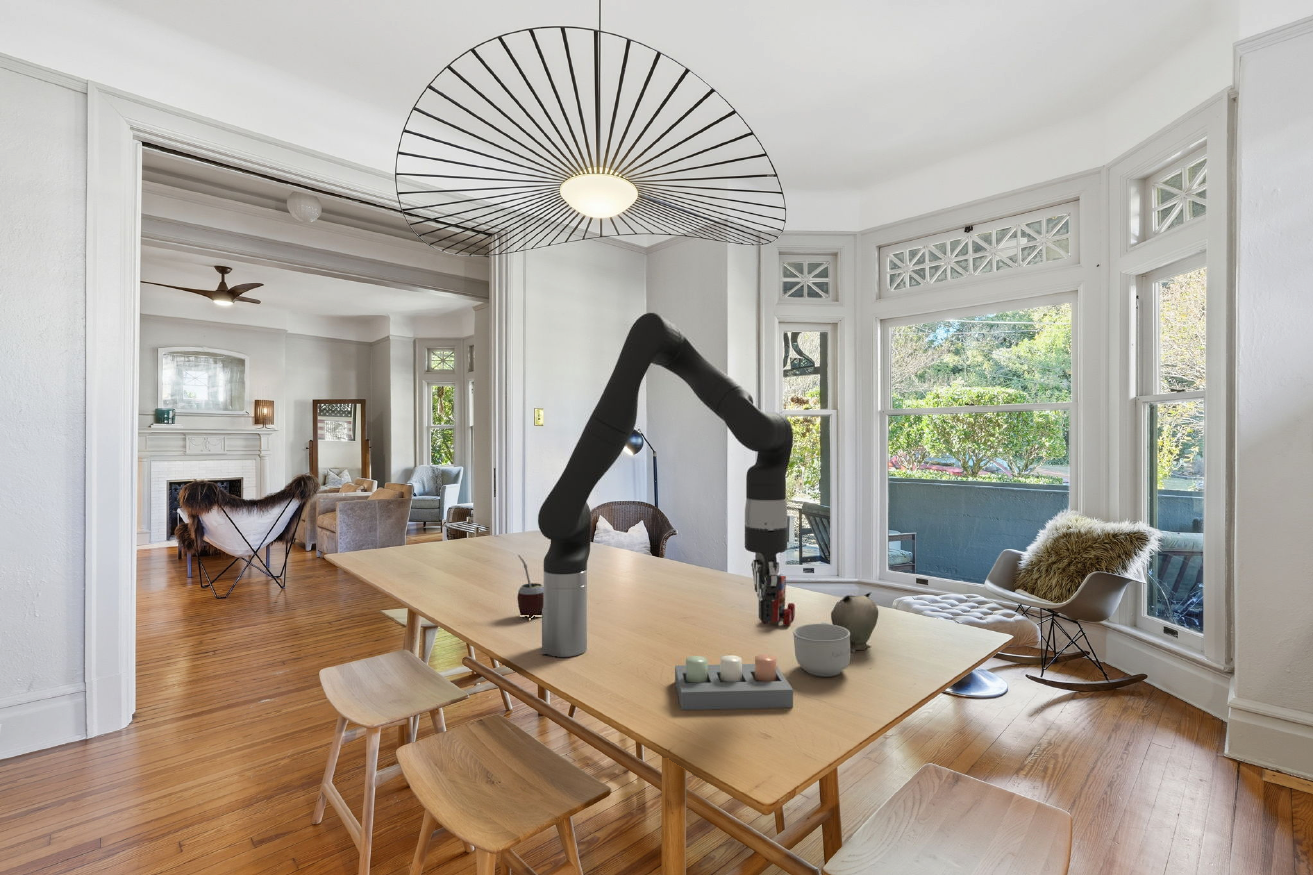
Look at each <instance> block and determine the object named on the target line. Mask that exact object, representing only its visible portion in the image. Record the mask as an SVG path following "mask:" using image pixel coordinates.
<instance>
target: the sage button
mask: <svg viewBox="0 0 1313 875" xmlns="http://www.w3.org/2000/svg"><path fill="white" fill-rule="evenodd" d="M685 665H686V683H707V665H708V658H707V657H704V656H702V655H691V656H688V657H686V658H685Z"/></svg>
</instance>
